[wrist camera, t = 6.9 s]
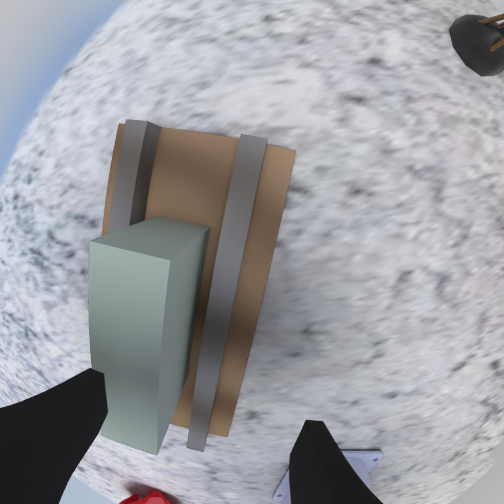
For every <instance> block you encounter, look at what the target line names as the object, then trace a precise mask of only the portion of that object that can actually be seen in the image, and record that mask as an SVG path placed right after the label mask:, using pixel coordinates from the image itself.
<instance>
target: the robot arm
mask: <svg viewBox="0 0 504 504" xmlns="http://www.w3.org/2000/svg"><path fill="white" fill-rule="evenodd" d="M107 414H108V405H107V396H106V387H105V377H104V373H102V372H99V371H97V370H94V369H91V368H89V369H87V370H85V371H83V372H81V373H79V374H78V375H76V376H74V377H72V378H70V379H68V380H66V381H64V382H63V383H61V384H59V385H57V386H55V387H53V388H51V389H49V390H47V391H45V392H42V393H40V394H38V395H35V396H33V397H31V398H28V399H26V400H24V401H21V402H18V403H15V404H12V405H9V406H6V407H2V408H0V504H59V502H60V499H61V497H62V494H63V492H64V490H65V488H66V485H67V483H68V481H69V479H70V477H71V475H72V474H73V472H74V470H75V469H76V467H77V466H78V464H79V463H80V461H81V460H82V458H83V456H84V455H85V453H86V452H87V450H88V449H89V447H90V446H91V444H92V443H93V441H94V439H95V438H96V436H97V435H98V433H99V431H100V429H101V427H102V425H103V423H104V421H105V418H106V416H107ZM382 456H383V453H382V451H341V450H340V448H339V447H338V445H337V444H336V442H335V440H334V439H333V437H332V435H331V434H330V432H329V430H328V429H327V427H326V425H325V424H324V422H323V421H315V420H306V421H305V423H304V425H303V428H302V430H301V432H300V434H299V436H298V438H297V441H296V443H295V445H294V447H293V449H292V451H291V453H290V464H289V469H288V471H287V473H286V475H285V476H284V478H283V480H282V482H281V483H280V485H279V487H278V488H277V490H276V492H275V493H274V495H273V497H272V500H273V501H275V502H282V504H383V503H382V502H381V501H380V500H379V499H378V498H377V497H376V496H375V495H374V494H373V490H372V486H371V483H370V479H369V475H368V474H369V473H370V472H371V470H372V469H373V468H374V467H375V465H376V464H377V463H378V462H379V460H380V459H381V458H382Z"/></svg>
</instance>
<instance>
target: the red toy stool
mask: <svg viewBox="0 0 504 504" xmlns="http://www.w3.org/2000/svg"><path fill="white" fill-rule="evenodd" d="M119 504H171V503H170V502H169V501H168V500H166V499H165V497H164V496H163V494H162V493H161V492H157V491H156V490H154V489H153V490H151V491H150V495H148V496H146V497H144V498H142V499H140V500H139V498H138V496H137V495H133V496H131V497H129V498H127V499H125V500H123V501H121V502H120V503H119Z"/></svg>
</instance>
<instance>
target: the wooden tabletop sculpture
mask: <svg viewBox="0 0 504 504" xmlns="http://www.w3.org/2000/svg"><path fill="white" fill-rule="evenodd" d="M503 19H504V14H501V15H498V16H494V17H491V18H487V17H485V16H480V15H464V16H461V17H459V18H458V19H457V20H455V22H454V23H453V25H452V26H451V28H450V30H449V31H450V35H451V39H452V43H453V47H454V49H455V50H456V52H457V53H458V54H459V56H460V57H461V59H462V60H463V62H464V63H465V65H466V66H468V67H469V68H471V69H472V70H473V71H475V72H476V73H478V74H479V75H480V76H494V75H497V74H499V73H500V72H502V71H503V70H504V22H503V23H501V24H497V23H496V21H499V20H503Z"/></svg>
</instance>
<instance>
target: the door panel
mask: <svg viewBox="0 0 504 504" xmlns="http://www.w3.org/2000/svg"><path fill="white" fill-rule="evenodd" d="M210 229H211V226H207V225H202V224H197V223H192V222H187V221H182V220H177V219H172V218H167V217H163V216H156V217H153V218H151V219H148V220H145V221H142V222H139V223H137V224H134V225H131V226H128V227H126V228H123V229H120V230H118V231H115V232H112V233H110V234H107V235H105V236H102V237H99V238H97V239H94V240H92V241H90V253H89V283H88V305H89V336H90V352H91V364H92V369H94V370H97V371H99V372H102V373H104V377H105V387H106V396H107V405H108V414H107V416H106V418H105V421H104V423H103V425H102V427H101V429H100V430H101V436H103V437H106V438H108V439H111V440H113V441H116V442H119V443H121V444H124V445H127V446H130V447H132V448H135V449H138V450H141V451H144V452H147V453H150V454H154V455H158V452H159V450H160V447H161V444H162V442H163V439H164V437H165V434H166V431H167V429H168V426H169V424H170V421H171V419H172V416H173V413H174V411H175V408H176V406H177V403H178V401H179V398H180V396H181V393H182V391H183V388H184V385H185V383H186V380H187V378H188V371H189V364H190V356H191V349H192V341H193V334H194V327H195V321H196V314H197V307H198V301H199V294H200V288H201V282H202V276H203V270H204V264H205V258H206V252H207V246H208V241H209V235H210Z"/></svg>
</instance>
